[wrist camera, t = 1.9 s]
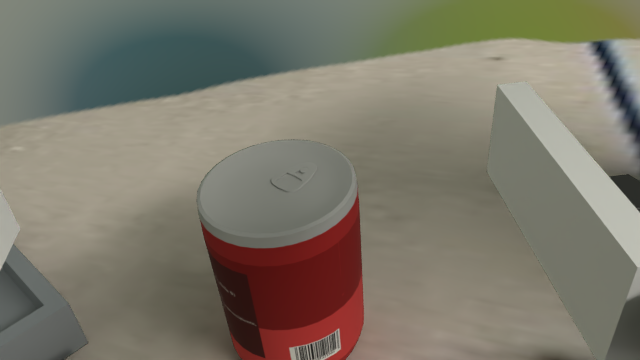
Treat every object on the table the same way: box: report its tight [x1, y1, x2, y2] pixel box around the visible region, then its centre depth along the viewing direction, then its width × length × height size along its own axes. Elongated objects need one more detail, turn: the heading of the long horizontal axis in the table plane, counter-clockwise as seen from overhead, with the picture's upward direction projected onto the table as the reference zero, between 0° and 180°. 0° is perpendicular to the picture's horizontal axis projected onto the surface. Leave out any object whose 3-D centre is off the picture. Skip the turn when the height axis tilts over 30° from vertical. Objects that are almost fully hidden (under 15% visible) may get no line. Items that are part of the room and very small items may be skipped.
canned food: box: [197, 139, 364, 360], centre depth 31 cm, size 8×8×11 cm
